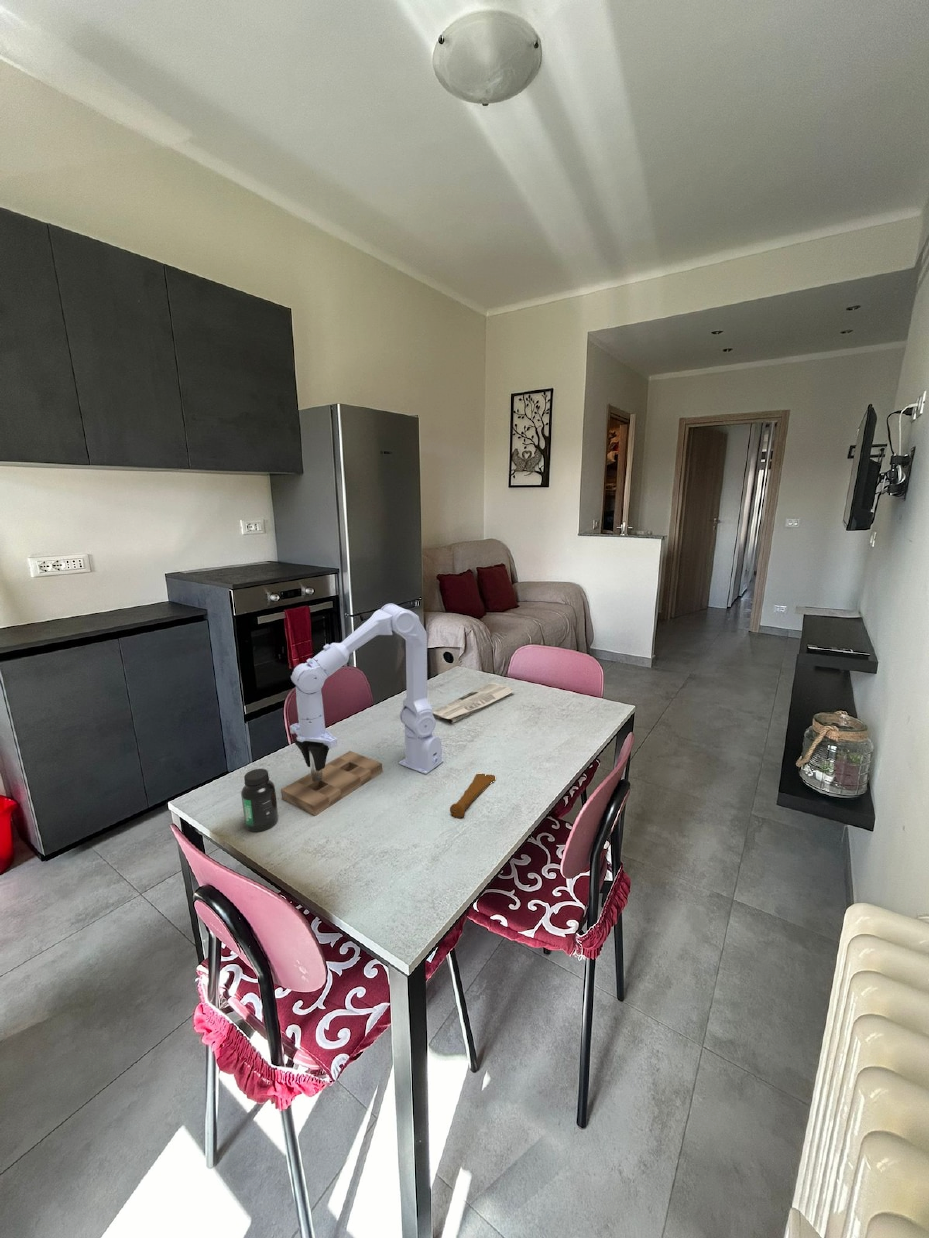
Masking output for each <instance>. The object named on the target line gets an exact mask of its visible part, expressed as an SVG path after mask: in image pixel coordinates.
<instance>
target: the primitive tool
mask: <svg viewBox="0 0 929 1238" xmlns="http://www.w3.org/2000/svg"><path fill="white" fill-rule="evenodd" d="M485 774H486V773H482V774H477V773H476V774H475V776H474V778H473V780H472V781H471V783H470V784H469V785H468V787H467V789H466V790H465V791H464V793H463V795H462V796H461V797H460V799H458V801H457V802H456V803H453V804H451V806H450V807H449V813H450V814H451V816H452V815H453V816H454V818H456V817H457V818H456V819H462V818H463V817H464V816H465V814H466V809H468V807H469V806H470V805H471V804H472V803H473V802H474V801H475V800H476V799H477V798H478V797H479V796H480V795H481V794H482V793H483V792H484V791H485V790H486V789H487V788H488V787H489V786H490V785H491V784H490V783H491V782H493V781H494V780H495V776H496V775H494V774H487V775H486V776H485ZM495 781H496V780H495ZM495 781H494V782H495ZM489 784H490V785H489ZM488 785H489V786H488ZM487 786H488V787H487ZM486 787H487V788H486ZM485 788H486V789H485ZM484 789H485V790H484ZM483 790H484V791H483ZM481 792H482V793H481ZM479 794H480V795H479ZM478 795H479V796H478ZM477 796H478V797H477ZM476 797H477V798H476ZM475 798H476V799H475ZM473 800H474V801H473ZM472 801H473V802H472ZM453 816H452V817H453ZM461 817H462V818H461Z"/></svg>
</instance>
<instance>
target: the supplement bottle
mask: <svg viewBox="0 0 929 1238" xmlns="http://www.w3.org/2000/svg"><path fill="white" fill-rule="evenodd" d="M240 795H241V803H242V805H241V806H242V811H243V818H244V824H245V828H246V829H247V830H248V831H250V832H256V833H258V832H263V831H264V832H265V831H266V830H269V829H271V828H273V827H274V826H275V825H276V824H277V822H278V820H279V812H278V802H277V795H276V786H275V783H274V782H273V781H272V780H270V776H269V772H268V770H267V769H265V768H255V769H252V770H249V771H248V772H246V773H245V774H244V786H243V788H242V789H241V791H240Z"/></svg>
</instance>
